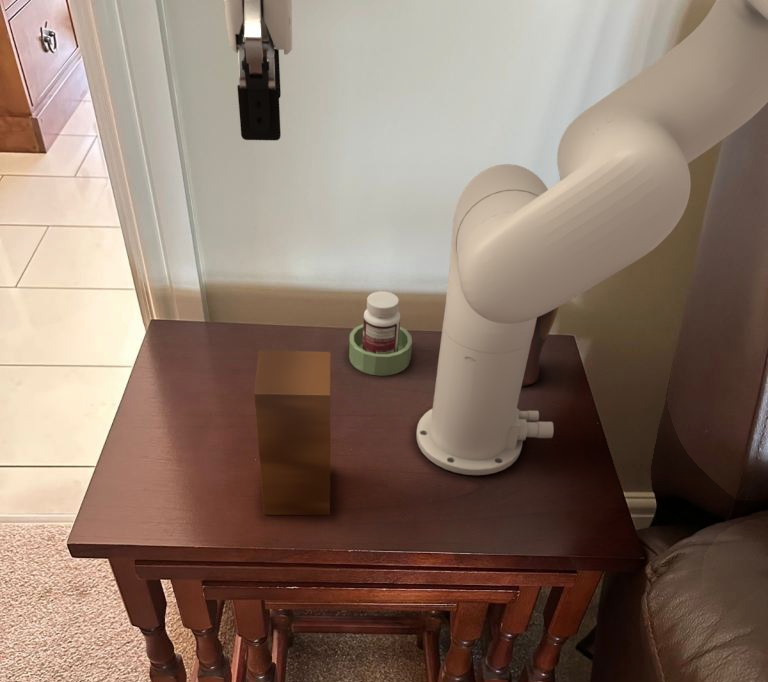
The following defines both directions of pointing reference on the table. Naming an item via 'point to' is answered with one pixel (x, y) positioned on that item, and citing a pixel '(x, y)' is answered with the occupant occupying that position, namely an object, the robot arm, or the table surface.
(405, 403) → the table surface
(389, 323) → the pill bottle
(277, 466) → the pedestal
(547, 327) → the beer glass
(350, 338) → the bowl
